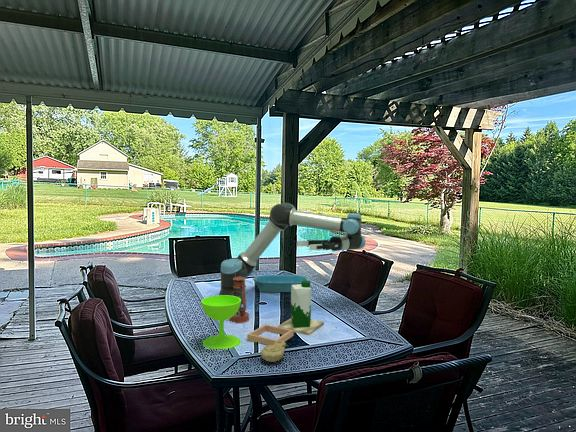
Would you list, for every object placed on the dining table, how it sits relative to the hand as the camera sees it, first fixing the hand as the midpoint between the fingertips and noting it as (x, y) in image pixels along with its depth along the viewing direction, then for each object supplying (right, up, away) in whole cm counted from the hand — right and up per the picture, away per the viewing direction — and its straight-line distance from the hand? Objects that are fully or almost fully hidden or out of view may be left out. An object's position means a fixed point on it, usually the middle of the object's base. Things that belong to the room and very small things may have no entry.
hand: (303, 245), depth 198 cm
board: (-2, -36, -17) cm, 40 cm away
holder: (-15, -37, -31) cm, 51 cm away
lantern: (-31, -36, -8) cm, 48 cm away
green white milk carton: (-2, -35, -18) cm, 40 cm away
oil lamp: (-13, -39, -50) cm, 65 cm away
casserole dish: (-12, -32, +52) cm, 62 cm away
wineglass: (-35, -38, -37) cm, 63 cm away
